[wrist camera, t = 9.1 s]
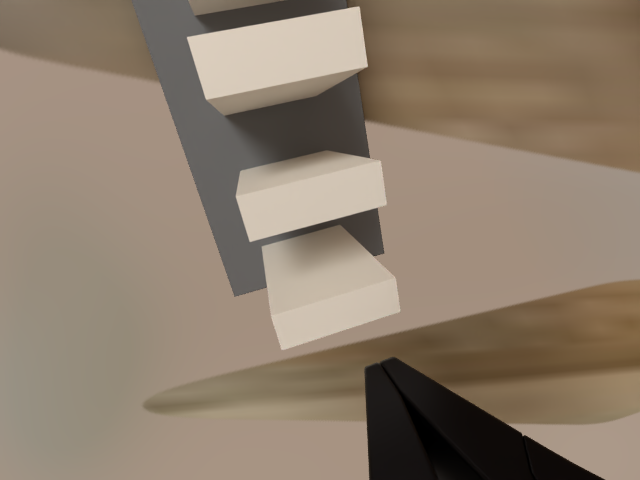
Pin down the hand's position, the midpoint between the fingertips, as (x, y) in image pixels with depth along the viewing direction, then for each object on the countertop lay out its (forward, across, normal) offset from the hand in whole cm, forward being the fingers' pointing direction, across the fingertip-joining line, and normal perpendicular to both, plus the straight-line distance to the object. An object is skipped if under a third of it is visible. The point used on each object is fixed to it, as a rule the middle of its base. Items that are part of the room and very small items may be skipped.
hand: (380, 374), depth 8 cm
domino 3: (+12, 0, +1) cm, 12 cm away
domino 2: (+12, 0, -4) cm, 13 cm away
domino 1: (+12, 0, -8) cm, 15 cm away
